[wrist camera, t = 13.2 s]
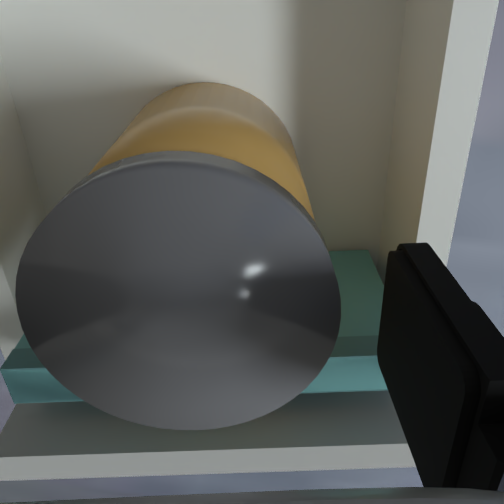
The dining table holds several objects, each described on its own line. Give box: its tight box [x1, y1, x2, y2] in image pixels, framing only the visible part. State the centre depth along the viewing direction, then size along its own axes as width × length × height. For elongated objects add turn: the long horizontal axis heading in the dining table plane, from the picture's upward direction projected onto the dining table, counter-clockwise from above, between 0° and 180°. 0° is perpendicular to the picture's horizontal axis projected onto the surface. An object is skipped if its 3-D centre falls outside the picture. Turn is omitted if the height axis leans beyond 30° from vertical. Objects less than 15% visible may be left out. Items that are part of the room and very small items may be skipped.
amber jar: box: [15, 82, 341, 430], centre depth 13 cm, size 6×6×8 cm
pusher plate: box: [0, 250, 388, 404], centre depth 15 cm, size 1×11×6 cm, turn 92°
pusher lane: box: [0, 0, 499, 481], centre depth 13 cm, size 15×14×8 cm
